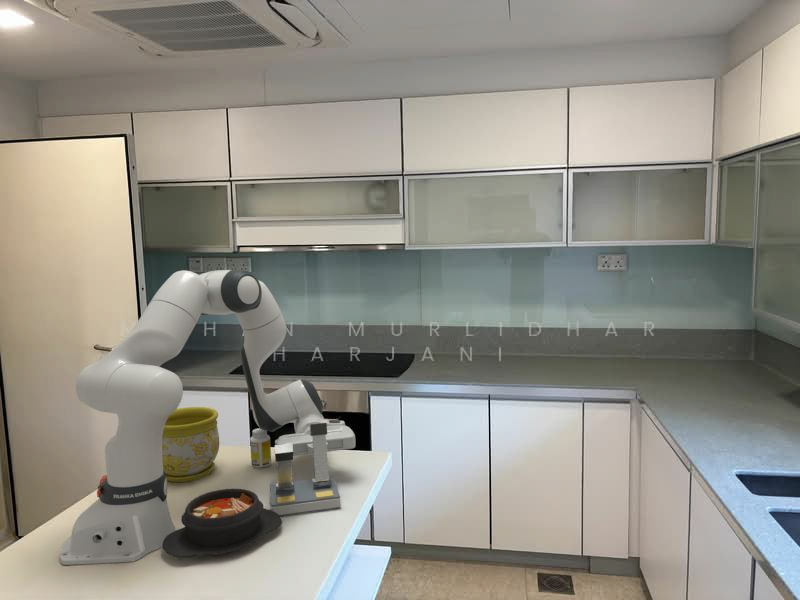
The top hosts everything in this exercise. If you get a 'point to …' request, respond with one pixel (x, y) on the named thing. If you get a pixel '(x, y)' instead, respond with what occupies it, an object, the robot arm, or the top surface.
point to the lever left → (284, 467)
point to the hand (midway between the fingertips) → (319, 453)
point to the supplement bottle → (260, 448)
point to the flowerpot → (190, 443)
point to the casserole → (221, 524)
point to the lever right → (320, 454)
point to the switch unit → (305, 498)
